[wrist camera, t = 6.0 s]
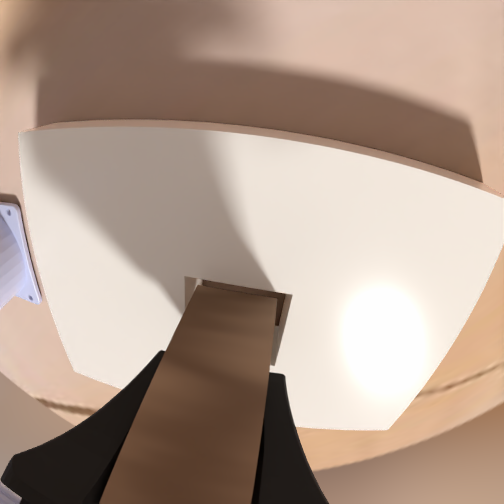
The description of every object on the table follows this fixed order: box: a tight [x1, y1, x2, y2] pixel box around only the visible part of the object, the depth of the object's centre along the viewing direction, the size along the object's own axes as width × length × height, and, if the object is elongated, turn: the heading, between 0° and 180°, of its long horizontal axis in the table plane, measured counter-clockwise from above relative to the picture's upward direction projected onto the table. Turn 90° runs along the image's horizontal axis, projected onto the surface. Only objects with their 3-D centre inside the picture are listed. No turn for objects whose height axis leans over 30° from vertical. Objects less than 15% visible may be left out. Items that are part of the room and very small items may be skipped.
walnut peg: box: [99, 285, 277, 504], centre depth 9 cm, size 3×3×9 cm
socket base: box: [18, 119, 504, 430], centre depth 14 cm, size 22×16×3 cm
